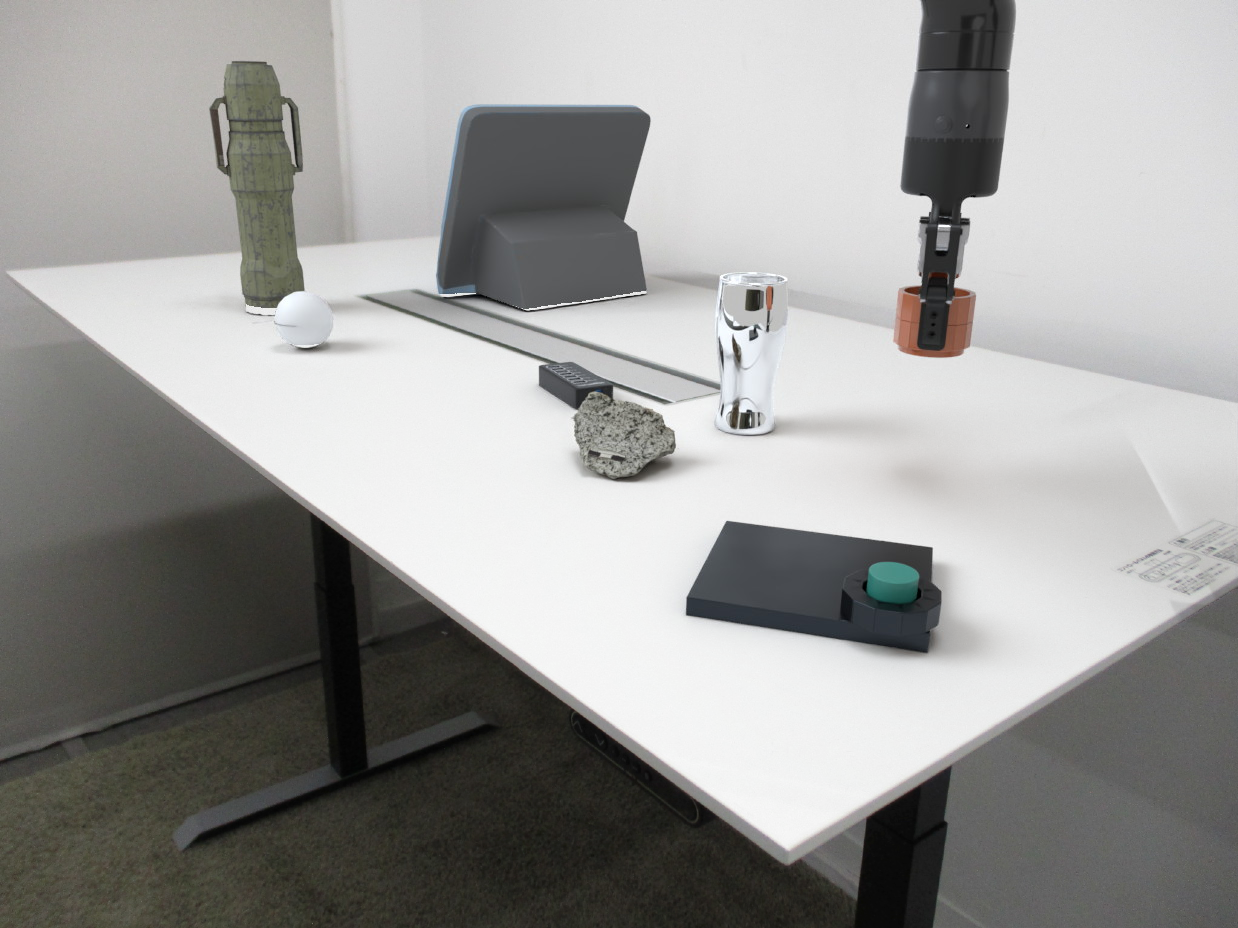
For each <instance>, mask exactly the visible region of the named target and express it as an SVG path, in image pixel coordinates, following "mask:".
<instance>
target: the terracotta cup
mask: <svg viewBox="0 0 1238 928" xmlns="http://www.w3.org/2000/svg"><path fill="white" fill-rule="evenodd" d="M921 286H922V284H918V285H908V286H903V287H899V288H898V289H897V298H896V308H895V319H894V328H893V329H894V330H893V341H892V342H893V343H894V344H895V345H897V350H898V351H899V352H901V353H904V354H906V355H909V356H910V355H911V356H914V357H915V356H916V357H922V358H934V359H947V358H948V359H949V358H957V357H959V356H962V355H964V353H965V350H966V349H969V348H970V347H971V342H972V341H971V340H972V332H973V325H974V324H973V323H974V317H975V310H976V299H977V292H976V291H973V290H971V289H967V288H962V287H955V286H954V290H955V296H954V301H953V300H952V304H951V305H950V308H949V317H948V325H947V334H946V342H945V347H944V349H943V350H940V351H934V350H922V349H919V348H918V346H917V338H918V329H919V320H920V310H921V303H920V299H918V298H919V288H921ZM926 303H927V302H926Z"/></svg>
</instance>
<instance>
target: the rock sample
mask: <svg viewBox="0 0 1238 928" xmlns="http://www.w3.org/2000/svg"><path fill="white" fill-rule="evenodd" d="M612 394H613V395H614V392H613V393H612ZM585 399H586V400H585V401H583V402H582V405H581V406H580V407H579V408H578V409H576V411H577V412H576V413H574V414H573V416H572V417H571V416H570V420H572V421H573V422H574V427H573V431H574V434H573V436H574V437H575V442H576V444H577V445H578V447H579V452H580V453H579V456H580V458H581V460H582V463H583V466H584V467H585V468H587V469H589V470H592V471H594V472H596V473H597V474H599V475H602V476H606V477H608V478H609V479H612V480H616V479H618V478H625V477H631V476H637V475H638V474H639V473H640V472H641V471H642V470H643V468H644V467H645V466H646V465H648V463H651V462H653V461H655V460H658V459H661V458H662V457H666V456H667V455H672V454H674V452H675V450H676V449H677V450H680V448H676V447H677V444H676V437H675V436H676V434H675V430H673V429H672V428H671V427H670V426H669V427H668V426H667V425H666V424H665V420H664V418H663V417H664V416H663V415H662V414H661V413H659V412H656V411H654V410H653V408H649V407H646V406H643V405H641V404H638V403H637V402H630V401H627V400H626V401H622V400H620V399H616V400H615V399H614V398H613V399H611V398H609V397H608V395H605V394H602V393H599V392H591V393H589V394H588V397H586V398H585Z"/></svg>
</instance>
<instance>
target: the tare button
mask: <svg viewBox="0 0 1238 928" xmlns="http://www.w3.org/2000/svg"><path fill="white" fill-rule="evenodd" d="M918 582H919V574H918V572H917V571H916V570H915V569H913V568H912V567H910V566H907V565H904V564H901V563H895V562H880V563H876V564H873V565H872V566H871V567H870V568H869V573H868V582H867V594H868V595H869V596H870V597H872V598H875V599H877V600H880V601H884V602H890V603H897V604H902V603H912V602H914V601H915V600H916V597H917V590H918Z"/></svg>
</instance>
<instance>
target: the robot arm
mask: <svg viewBox="0 0 1238 928" xmlns="http://www.w3.org/2000/svg"><path fill="white" fill-rule="evenodd" d="M919 6H920V21H919V27H918V36H917V45H916V56H915V65H914V70H915V71H914V74H913V81H912V85H911V89H910V92H909V98H908V104H907V112H906V113H907V114H906V123H905V132H904V133H905V134H904V145H903V155H902V165H901V175H900V185H899V187H900V190H901V192H902V193H904V194H907V195H910V196H917V197H927V198H929V199H930V201H931V208H930V211H929V212H928V215H920V217H919V221H918V229H917V242H918V243H919V249H918V259H917V269H916V273H917V275H918V277H920V278H921V281H920V283H921V285H922V286H921V288H919V298H918V299H920V303H921V310H920V320H919V329H918V338H917V346H918V348H919V349H922V350H934V351H940V350H943V349H944V347H945V342H946V334H947V325H948V317H949V308H950V305H951V304H952V300H953V301H954V296H955V290H954V287H955V281H956V280H957V279H959V278H960V277H961V275H962V270H963V265H964V255H965V254H964V253H965V246H966V245H967V243H968V242H969V238H970V228H971V218H970V217H962V212H961V211H962V204H963V202H964V201H965V200H966V199H968V198H973V199H975V198H988V197H992V196H993V195H995V194H996V193H997V191H998V189H999V182H1000V175H1001V168H1002V160H1003V159H1002V158H1003V152H1004V143H1005V136H1006V129H1007V128H1006V127H1007V121H1008V112H1009V102H1010V86H1009V84H1010V69H1011V63H1012V54H1013V46H1014V39H1015V31H1016V20H1017V4H1016V0H919ZM926 302H927V303H926Z"/></svg>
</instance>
